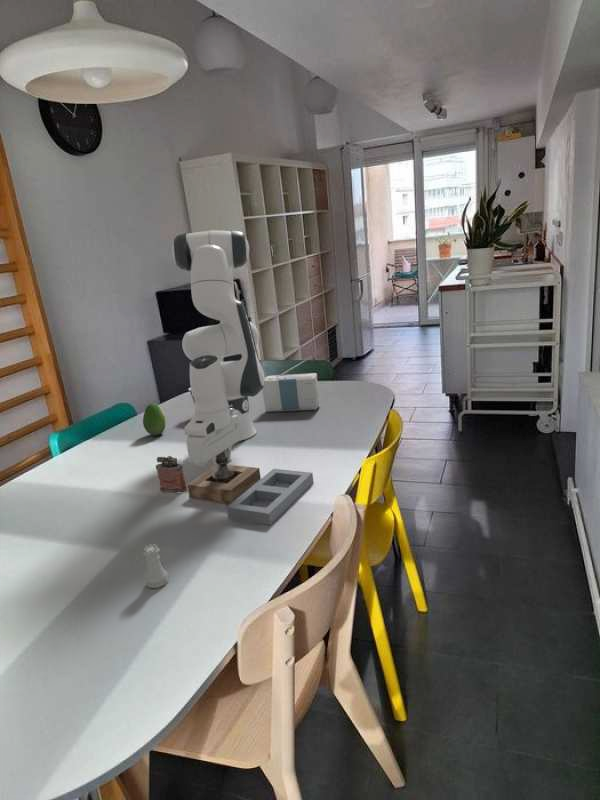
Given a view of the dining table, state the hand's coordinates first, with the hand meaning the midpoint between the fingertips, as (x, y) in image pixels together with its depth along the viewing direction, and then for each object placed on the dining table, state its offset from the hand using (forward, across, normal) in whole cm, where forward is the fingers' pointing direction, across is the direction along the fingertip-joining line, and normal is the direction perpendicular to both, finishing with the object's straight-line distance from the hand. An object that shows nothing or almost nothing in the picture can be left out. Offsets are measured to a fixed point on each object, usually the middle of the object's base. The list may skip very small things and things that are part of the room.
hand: (221, 466), depth 147 cm
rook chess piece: (+6, +40, +12) cm, 42 cm away
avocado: (+8, -32, -54) cm, 63 cm away
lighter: (+7, +4, -15) cm, 17 cm away
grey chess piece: (+6, 0, 0) cm, 6 cm away
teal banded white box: (+8, -68, -15) cm, 70 cm away
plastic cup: (+8, -56, -48) cm, 74 cm away
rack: (+6, +2, +16) cm, 18 cm away
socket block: (+7, 0, 0) cm, 7 cm away
